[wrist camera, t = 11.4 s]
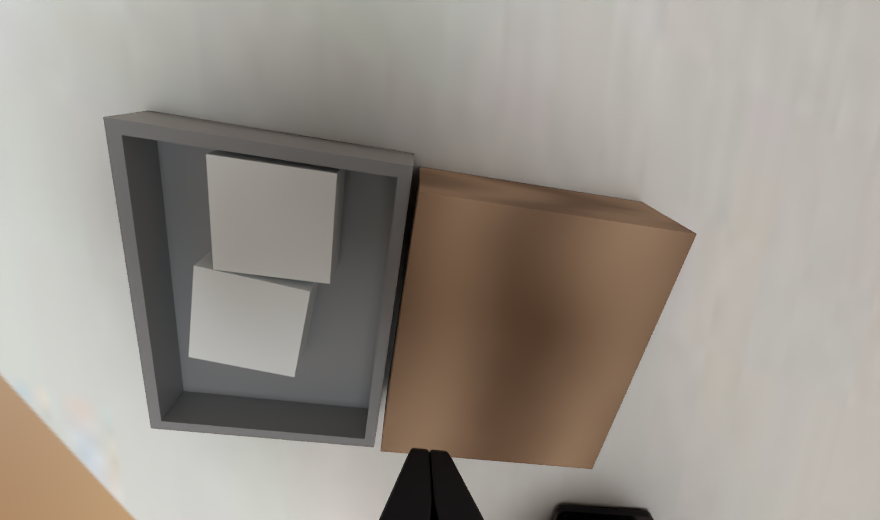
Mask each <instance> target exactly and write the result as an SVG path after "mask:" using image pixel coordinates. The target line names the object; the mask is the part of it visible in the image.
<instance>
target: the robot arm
mask: <svg viewBox="0 0 880 520" xmlns="http://www.w3.org/2000/svg"><path fill="white" fill-rule="evenodd" d="M379 520H484V519H483V517H482V515H481V513H480V511H479V509H478V508H477V506H476V504H475V502H474V500H473V498H472V496H471V494H470V492H469V490H468V489H467V487H466V485H465V483H464V481H463V479H462V477H461V475H460V473H459V472H458V470H457V468H456V466H455V464H454V462H453V460H452V458H451V456H450V455H449V453H448V452H447V451H444V450H434V449H432V450H430V451H428V449H423V448H412V449H411V450H410V451H409V454H408V456H407V458H406V460H405V463H404V465H403V467H402V469H401V472H400V474H399V476H398V478H397V481H396V483H395V485H394V487H393V490H392V492H391V494H390V496H389V499H388V501H387V503H386V505H385V508H384V510H383V512H382V514H381V517H380V519H379ZM552 520H653V518H652V516H651V514H650V513H649V512H647V511H637V510H624V509H610V508H597V507H583V506H570V505H562V506H559V507H558V508H557V509H556V510H555V512H554V515H553V517H552Z"/></svg>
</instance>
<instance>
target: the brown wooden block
mask: <svg viewBox="0 0 880 520" xmlns="http://www.w3.org/2000/svg"><path fill="white" fill-rule="evenodd" d="M695 236H696V233H694V232H692V231H691V230H689V229H687V228H686V227H684V226H682V225H680V224H679V223H677V222H675V221H674V220H672V219H670V218H668V217H667V216H665V215H663V214H662V213H660V212H658V211H657V210H655V209H653V208H651V207H650V206H648V205H646V204H645V203H643V202H638V201H632V200H626V199H619V198H613V197H607V196H600V195H594V194H588V193H581V192H575V191H569V190H562V189H556V188H550V187H544V186H537V185H531V184H525V183H518V182H512V181H506V180H499V179H493V178H487V177H480V176H474V175H468V174H462V173H455V172H449V171H443V170H436V169H430V168H424V167H420V169H419V176H418V183H417V189H416V196H415V203H414V210H413V217H412V223H411V230H410V237H409V244H408V251H407V257H406V264H405V271H404V278H403V285H402V292H401V298H400V305H399V312H398V319H397V326H396V332H395V339H394V346H393V353H392V360H391V367H390V373H389V380H388V387H387V396H386V405H385V415H384V424H383V433H382V443H381V451H384V452H396V453H408V454H409V451H410V450H411V449H412V448H423V449H428V451H430V450H432V449H434V450H444V451H447V452H448V453H449V455H450V456H451V457H456V458H467V459H479V460H491V461H503V462H515V463H527V464H539V465H550V466H562V467H574V468H586V469H592V468H593V466H594V464H595V461H596V459H597V457H598V455H599V452H600V450H601V448H602V446H603V443H604V441H605V439H606V437H607V434H608V432H609V430H610V428H611V425H612V423H613V421H614V419H615V416H616V414H617V412H618V410H619V407H620V405H621V403H622V401H623V398H624V396H625V394H626V392H627V389H628V387H629V385H630V383H631V380H632V378H633V376H634V374H635V371H636V369H637V367H638V365H639V362H640V360H641V358H642V356H643V353H644V351H645V349H646V347H647V344H648V342H649V340H650V338H651V335H652V333H653V331H654V329H655V326H656V324H657V322H658V320H659V317H660V315H661V313H662V311H663V308H664V306H665V304H666V302H667V299H668V297H669V295H670V293H671V290H672V288H673V286H674V284H675V281H676V279H677V277H678V275H679V272H680V270H681V268H682V266H683V263H684V261H685V259H686V257H687V254H688V252H689V250H690V248H691V245H692V243H693V241H694V239H695Z"/></svg>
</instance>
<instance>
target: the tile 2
mask: <svg viewBox="0 0 880 520" xmlns="http://www.w3.org/2000/svg"><path fill="white" fill-rule="evenodd" d="M206 163H207V179H208V194H209V210H210V226H211V241H212V257H213V270H221V271H229V272H237V273H245V274H253V275H261V276H270V277H278V278H286V279H294V280H302V281H311V282H319V283H327V284H330V282H331V280H332V278H333V275H334V273H335V271H336V268H337V266H338V264H339V253H340V239H341V225H342V211H343V197H344V183H345V169H338V168H332V167H325V166H319V165H312V164H306V163H300V162H293V161H287V160H280V159H274V158H267V157H261V156H254V155H248V154H241V153H235V152H228V151H222V150H215V151H213V152H210V153H208V154H206Z"/></svg>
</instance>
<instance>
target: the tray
mask: <svg viewBox="0 0 880 520" xmlns="http://www.w3.org/2000/svg"><path fill="white" fill-rule="evenodd" d="M103 118H104V125H105V131H106V138H107V144H108V151H109V157H110V164H111V170H112V177H113V183H114V190H115V196H116V203H117V209H118V216H119V222H120V229H121V236H122V242H123V249H124V255H125V262H126V268H127V275H128V281H129V288H130V294H131V301H132V307H133V314H134V320H135V327H136V333H137V340H138V347H139V353H140V360H141V366H142V373H143V379H144V386H145V392H146V399H147V405H148V412H149V418H150V425H151V428H154V429H166V430H177V431H189V432H201V433H213V434H224V435H236V436H248V437H260V438H271V439H283V440H295V441H307V442H318V443H330V444H342V445H354V446H365V447H374V443H375V436H376V429H377V422H378V415H379V408H380V401H381V393H382V386H383V379H384V372H385V365H386V358H387V351H388V344H389V336H390V329H391V322H392V315H393V308H394V301H395V294H396V287H397V280H398V272H399V265H400V258H401V251H402V244H403V237H404V230H405V223H406V215H407V208H408V201H409V194H410V187H411V180H412V173H413V165H414V154H413V153H406V152H400V151H394V150H388V149H382V148H375V147H369V146H363V145H357V144H351V143H345V142H338V141H332V140H326V139H320V138H314V137H307V136H301V135H295V134H289V133H283V132H276V131H270V130H264V129H258V128H252V127H246V126H239V125H233V124H227V123H221V122H215V121H208V120H202V119H196V118H190V117H184V116H178V115H171V114H165V113H159V112H153V111H143V112H136V113H129V114H122V115H115V116H108V117H103ZM215 150H222V151H228V152H235V153H241V154H248V155H254V156H261V157H267V158H274V159H280V160H287V161H293V162H300V163H306V164H312V165H319V166H325V167H332V168H338V169H345V183H344V197H343V211H342V225H341V239H340V253H339V264H338V266H337V268H336V271H335V273H334V275H333V278H332V280H331V282H330V284H327V283H318V289H317V294H316V299H315V304H314V309H313V315H312V320H311V325H310V330H309V335H308V341H307V346H306V350H305V353H304V355H303V358H302V360H301V363H300V365H299V367H298V370H297V372H296V375H295V377H290V376H285V375H280V374H275V373H270V372H264V371H259V370H254V369H249V368H243V367H238V366H233V365H228V364H223V363H217V362H212V361H207V360H202V359H196V358H191V357H189V340H190V322H191V304H192V287H193V269H194V265H195V264H196V263H197V262H198V261H200V260H201V259H202V258H203V257H204V256H205V255H207V254H208V253H209V252H210V251H211V250H212V241H211V226H210V210H209V194H208V179H207V163H206V154H208V153H210V152H213V151H215Z"/></svg>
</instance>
